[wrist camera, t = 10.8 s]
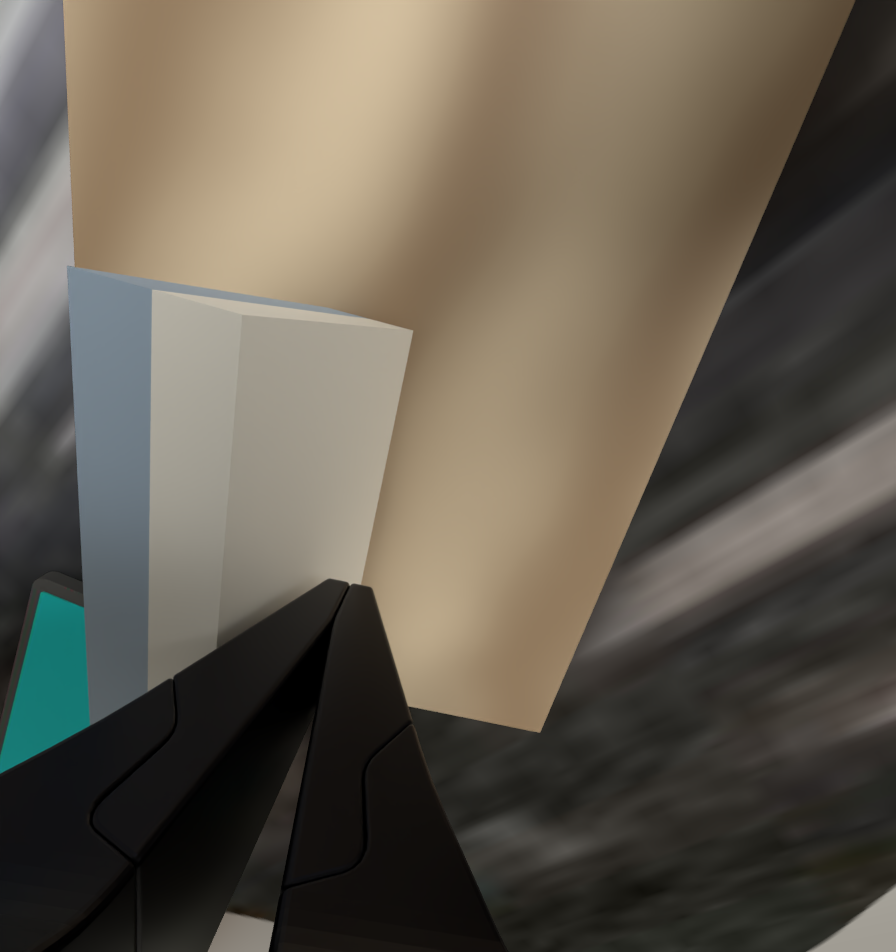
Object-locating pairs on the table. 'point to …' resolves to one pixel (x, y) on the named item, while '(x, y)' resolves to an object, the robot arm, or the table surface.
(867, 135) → the table surface
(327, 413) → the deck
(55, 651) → the smartphone
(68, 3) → the mat
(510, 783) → the table surface
